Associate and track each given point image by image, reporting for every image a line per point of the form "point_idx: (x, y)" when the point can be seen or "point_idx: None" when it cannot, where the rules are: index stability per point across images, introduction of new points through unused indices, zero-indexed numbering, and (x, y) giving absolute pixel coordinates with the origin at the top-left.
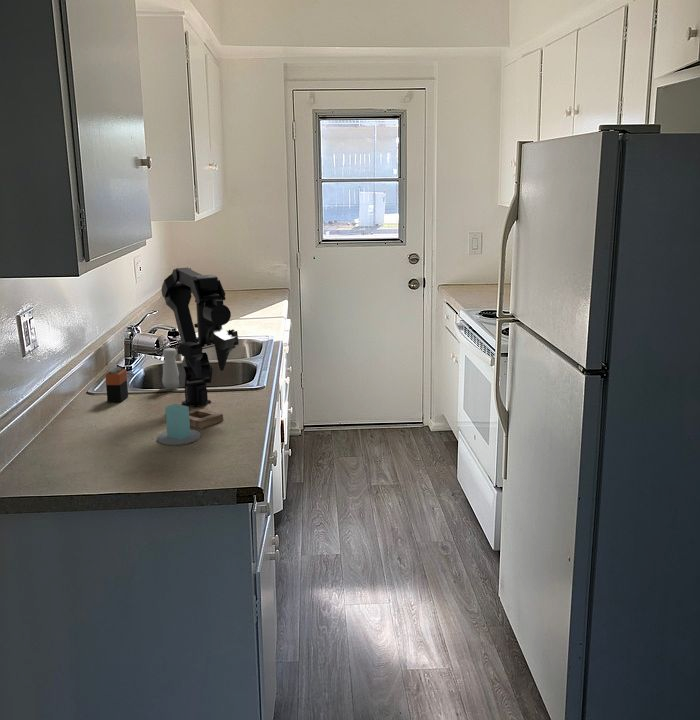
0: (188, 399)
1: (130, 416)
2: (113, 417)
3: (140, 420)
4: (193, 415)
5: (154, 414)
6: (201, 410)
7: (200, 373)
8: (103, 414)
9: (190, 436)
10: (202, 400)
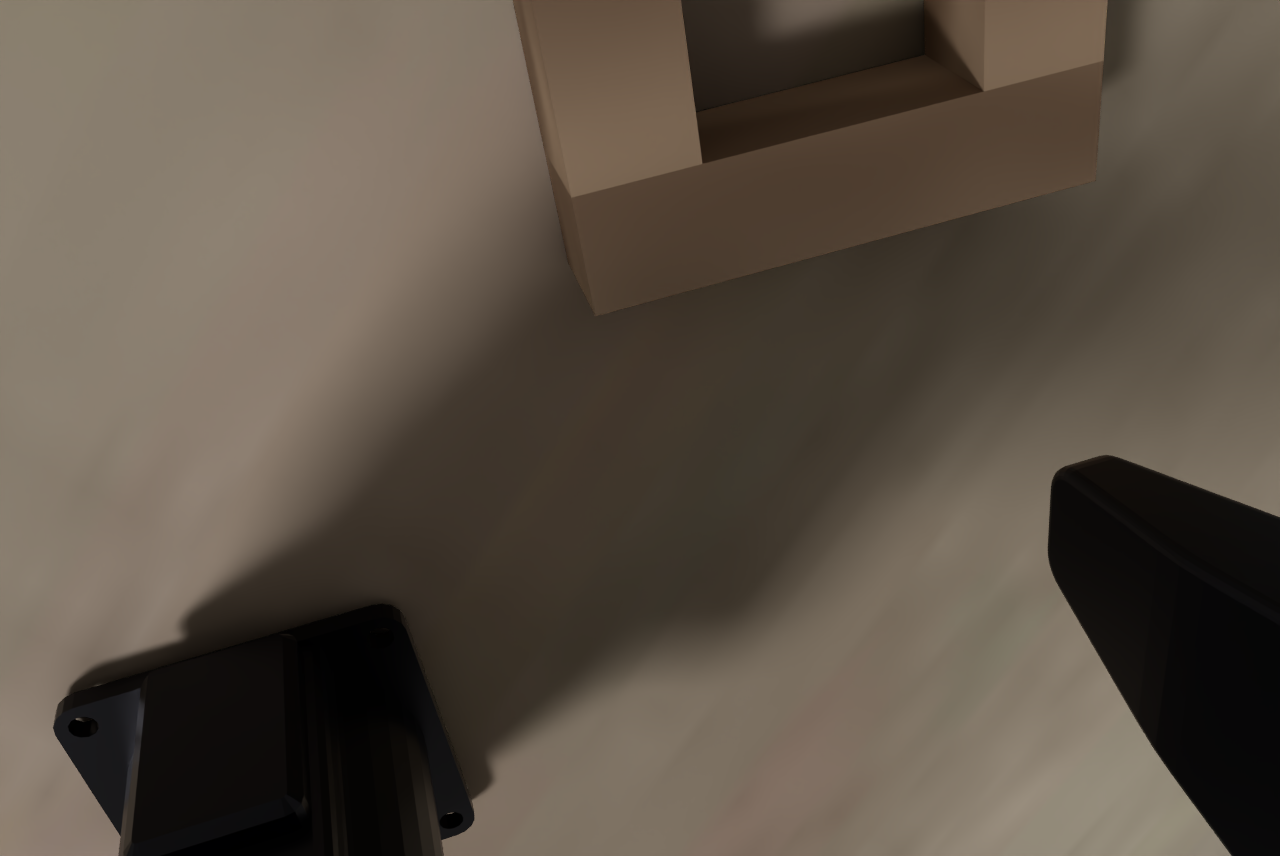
0: (431, 789)
1: None
2: None
3: None
4: (784, 117)
5: (952, 606)
6: (637, 136)
7: (1153, 533)
8: None
9: None
10: (268, 670)
